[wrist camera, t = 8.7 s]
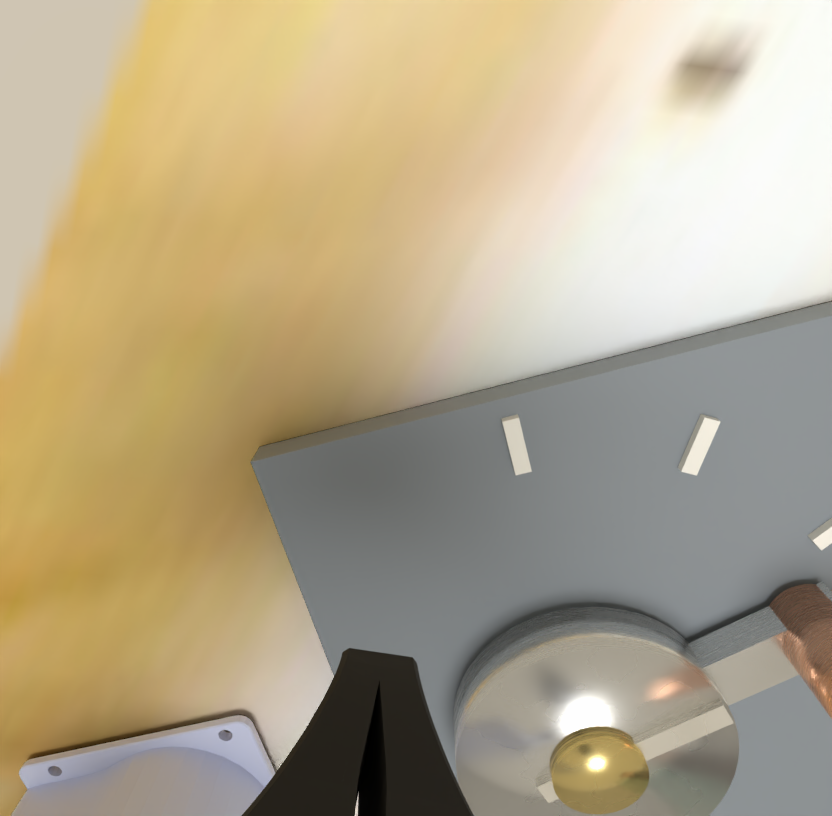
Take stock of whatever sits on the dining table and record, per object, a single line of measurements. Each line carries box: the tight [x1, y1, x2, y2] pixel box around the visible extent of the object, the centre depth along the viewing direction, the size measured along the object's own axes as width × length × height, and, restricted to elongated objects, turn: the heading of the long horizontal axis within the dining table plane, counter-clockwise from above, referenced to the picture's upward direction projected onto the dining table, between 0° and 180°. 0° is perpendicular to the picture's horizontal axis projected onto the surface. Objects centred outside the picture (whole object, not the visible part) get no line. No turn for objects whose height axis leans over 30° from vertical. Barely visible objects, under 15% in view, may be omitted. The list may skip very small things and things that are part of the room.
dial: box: [453, 582, 832, 816], centre depth 21 cm, size 14×9×6 cm, turn 122°
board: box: [251, 301, 832, 816], centre depth 24 cm, size 20×22×2 cm
